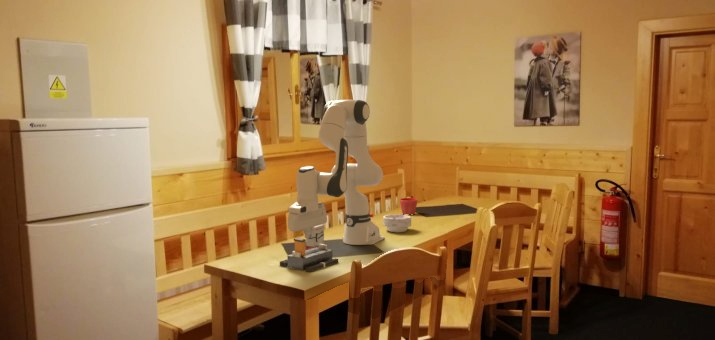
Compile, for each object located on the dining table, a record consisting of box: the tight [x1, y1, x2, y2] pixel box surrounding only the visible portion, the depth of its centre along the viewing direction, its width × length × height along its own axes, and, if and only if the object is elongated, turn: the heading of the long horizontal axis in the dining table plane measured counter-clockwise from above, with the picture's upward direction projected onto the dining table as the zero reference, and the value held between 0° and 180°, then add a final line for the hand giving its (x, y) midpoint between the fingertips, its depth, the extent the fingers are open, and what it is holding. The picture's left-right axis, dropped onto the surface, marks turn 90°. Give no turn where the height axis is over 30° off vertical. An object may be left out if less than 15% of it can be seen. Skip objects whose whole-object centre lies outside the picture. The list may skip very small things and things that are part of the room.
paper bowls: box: [382, 214, 412, 233], centre depth 295 cm, size 15×15×8 cm
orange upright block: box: [293, 237, 306, 256], centre depth 226 cm, size 2×5×6 cm, turn 51°
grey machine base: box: [286, 243, 333, 272], centre depth 231 cm, size 18×9×7 cm, turn 141°
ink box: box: [305, 224, 325, 250], centre depth 255 cm, size 8×5×12 cm, turn 152°
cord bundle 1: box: [279, 258, 288, 268], centre depth 236 cm, size 18×4×2 cm, turn 141°
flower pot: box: [399, 197, 418, 215], centre depth 341 cm, size 11×11×10 cm
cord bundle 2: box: [305, 258, 339, 273], centre depth 227 cm, size 18×2×2 cm, turn 141°
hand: (308, 237), depth 230 cm, fingers closed
